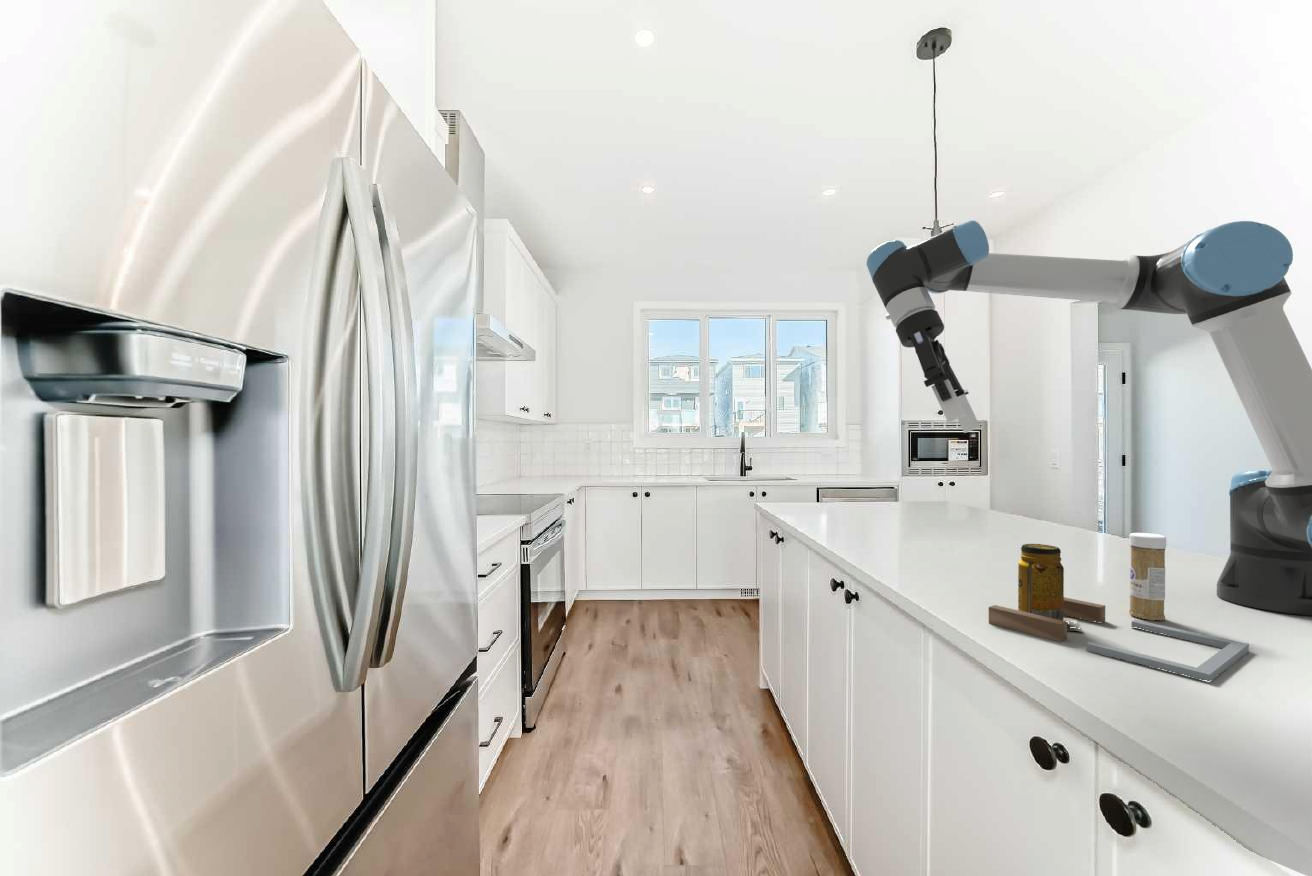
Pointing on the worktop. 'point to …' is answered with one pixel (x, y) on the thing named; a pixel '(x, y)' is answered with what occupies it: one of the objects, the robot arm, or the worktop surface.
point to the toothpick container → (1147, 576)
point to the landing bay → (1204, 671)
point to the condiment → (1042, 583)
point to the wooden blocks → (1046, 618)
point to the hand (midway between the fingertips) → (965, 424)
